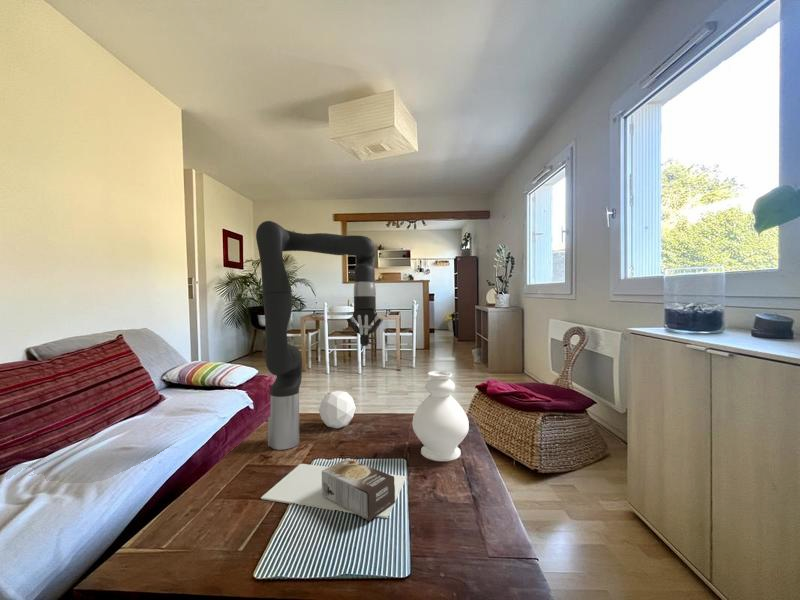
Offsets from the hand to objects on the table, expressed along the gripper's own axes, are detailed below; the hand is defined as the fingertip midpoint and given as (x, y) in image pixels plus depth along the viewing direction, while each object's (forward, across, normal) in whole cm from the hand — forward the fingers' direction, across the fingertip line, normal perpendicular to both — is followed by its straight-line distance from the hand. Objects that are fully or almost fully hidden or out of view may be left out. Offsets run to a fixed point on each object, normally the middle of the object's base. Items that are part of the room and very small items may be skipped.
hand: (365, 345), depth 116 cm
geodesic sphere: (+33, -16, +12) cm, 39 cm away
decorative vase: (+33, +26, -2) cm, 42 cm away
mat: (+33, +3, -29) cm, 44 cm away
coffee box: (+29, +3, -30) cm, 42 cm away
